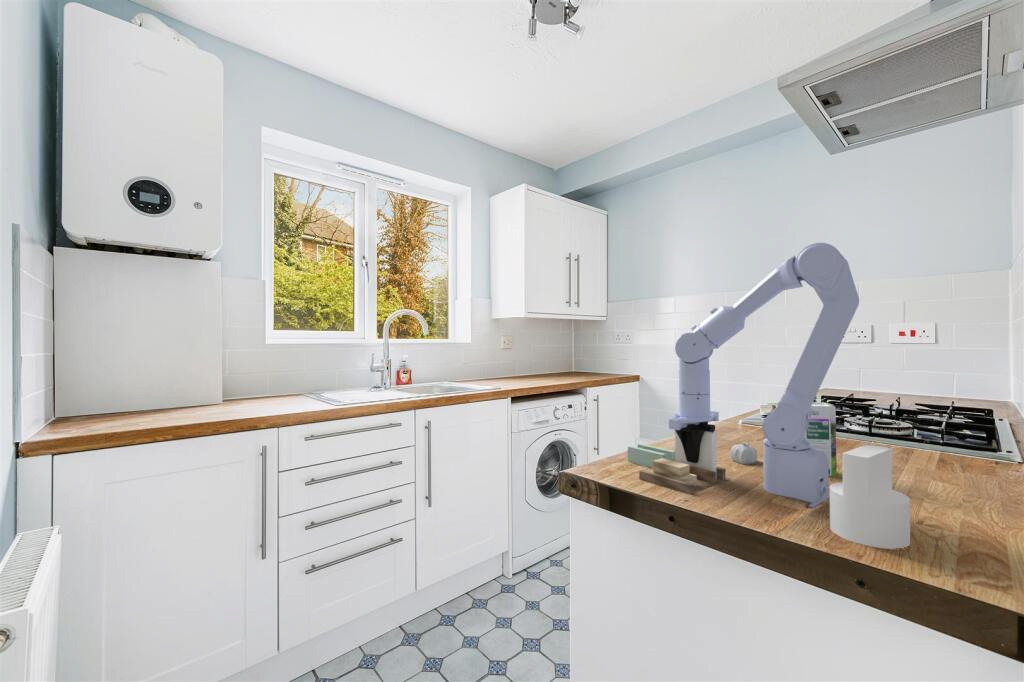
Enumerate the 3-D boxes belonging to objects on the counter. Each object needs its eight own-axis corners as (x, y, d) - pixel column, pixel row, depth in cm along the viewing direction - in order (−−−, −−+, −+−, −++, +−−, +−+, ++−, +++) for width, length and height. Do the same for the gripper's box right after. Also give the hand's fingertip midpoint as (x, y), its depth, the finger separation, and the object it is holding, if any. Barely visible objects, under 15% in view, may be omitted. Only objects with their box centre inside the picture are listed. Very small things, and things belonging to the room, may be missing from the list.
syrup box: (804, 476, 90) (804, 404, 90) (793, 468, 96) (793, 400, 96) (837, 478, 89) (836, 405, 88) (824, 469, 94) (823, 401, 94)
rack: (731, 482, 87) (731, 468, 87) (690, 498, 79) (690, 482, 79) (680, 469, 96) (680, 456, 96) (639, 482, 88) (639, 468, 88)
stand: (676, 469, 96) (675, 451, 96) (661, 474, 93) (661, 454, 93) (641, 460, 103) (641, 443, 103) (627, 464, 100) (627, 446, 100)
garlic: (760, 469, 95) (760, 445, 95) (732, 467, 97) (732, 443, 97) (754, 462, 101) (754, 439, 101) (728, 460, 103) (728, 437, 102)
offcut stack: (696, 484, 83) (696, 465, 83) (685, 488, 81) (685, 469, 81) (663, 475, 89) (663, 457, 89) (652, 479, 87) (652, 460, 87)
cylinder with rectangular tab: (845, 516, 70) (844, 440, 70) (920, 537, 62) (919, 452, 62) (818, 530, 65) (817, 448, 65) (896, 555, 58) (895, 463, 58)
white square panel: (716, 479, 87) (716, 432, 86) (712, 480, 86) (711, 434, 86) (679, 469, 93) (679, 426, 93) (675, 470, 92) (674, 427, 92)
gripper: (696, 388, 97) (697, 451, 97) (655, 394, 88) (655, 462, 88) (728, 391, 91) (728, 457, 91) (687, 398, 82) (688, 471, 83)
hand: (695, 461), depth 89 cm, fingers closed on white square panel
